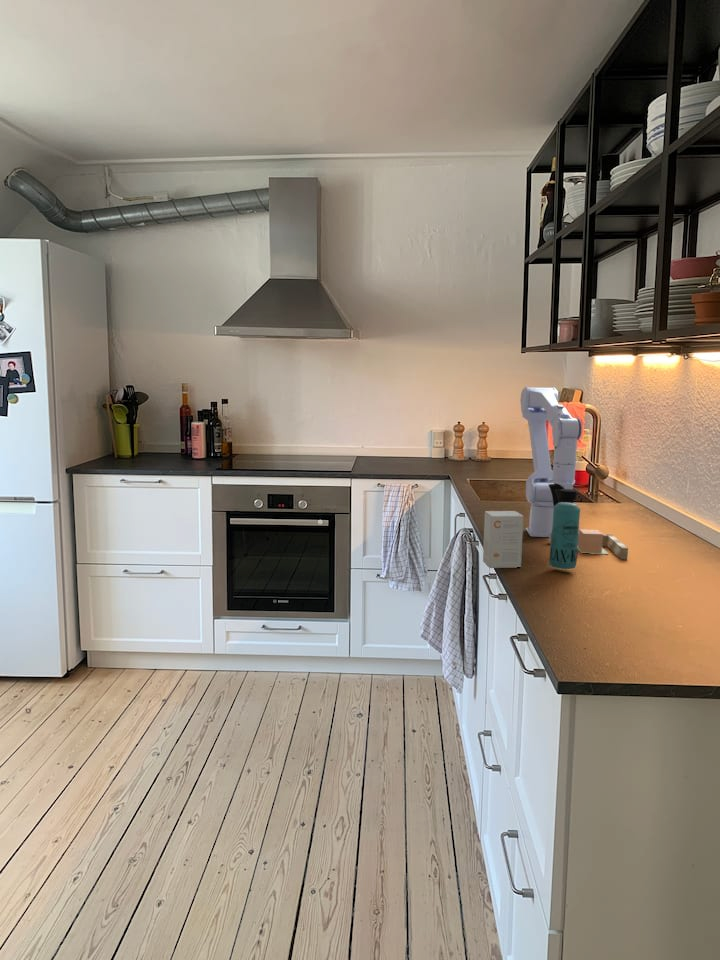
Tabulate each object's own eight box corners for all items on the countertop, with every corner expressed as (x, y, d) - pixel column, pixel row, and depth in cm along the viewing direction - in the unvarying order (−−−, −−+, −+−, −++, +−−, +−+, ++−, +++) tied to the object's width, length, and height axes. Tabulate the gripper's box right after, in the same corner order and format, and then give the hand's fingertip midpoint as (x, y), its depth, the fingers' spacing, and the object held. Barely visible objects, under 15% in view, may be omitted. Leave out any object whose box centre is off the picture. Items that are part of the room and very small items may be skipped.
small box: (513, 561, 181) (516, 510, 179) (521, 568, 175) (524, 515, 173) (481, 561, 180) (484, 510, 178) (488, 568, 174) (491, 515, 172)
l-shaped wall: (548, 542, 200) (549, 532, 200) (611, 545, 199) (611, 534, 198) (559, 557, 185) (560, 545, 185) (627, 559, 184) (628, 548, 184)
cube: (577, 547, 195) (579, 529, 194) (596, 547, 195) (598, 529, 194) (582, 551, 190) (583, 533, 189) (601, 552, 190) (603, 534, 189)
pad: (575, 546, 196) (575, 546, 196) (601, 547, 196) (601, 547, 196) (581, 553, 189) (581, 552, 189) (608, 554, 189) (608, 553, 189)
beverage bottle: (542, 569, 174) (547, 487, 171) (564, 566, 177) (570, 486, 174) (560, 576, 168) (565, 492, 165) (582, 573, 171) (588, 491, 168)
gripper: (544, 459, 200) (541, 507, 202) (554, 466, 185) (551, 518, 188) (570, 459, 199) (566, 508, 201) (582, 467, 185) (578, 519, 187)
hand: (561, 513), depth 194 cm, fingers open, 7 cm apart
